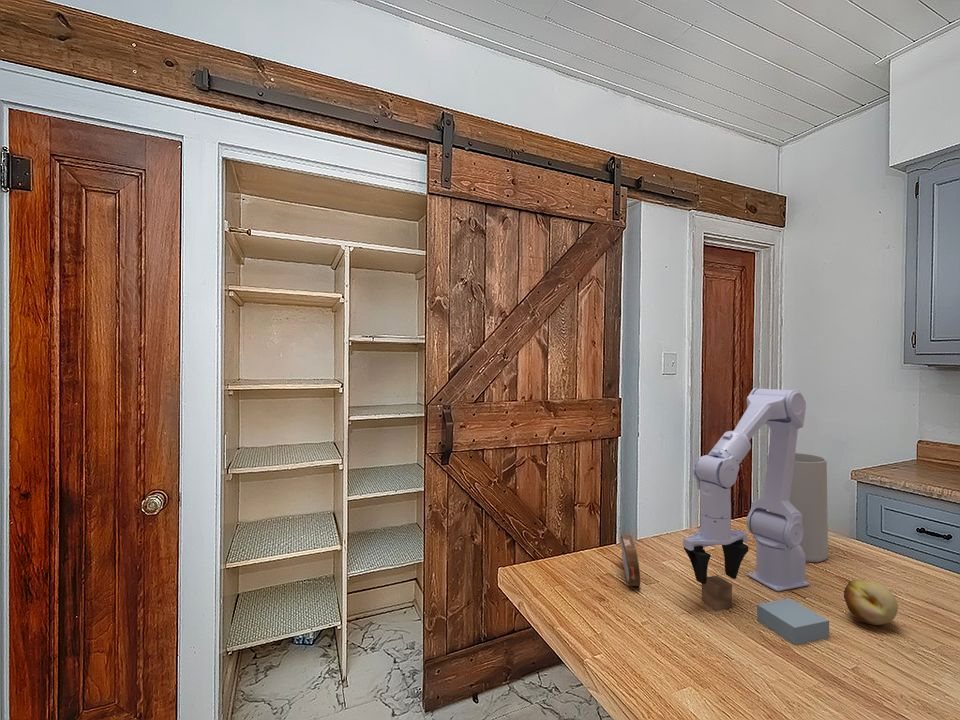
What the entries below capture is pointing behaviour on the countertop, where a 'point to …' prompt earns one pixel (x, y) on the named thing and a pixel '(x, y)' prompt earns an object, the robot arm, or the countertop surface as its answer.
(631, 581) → the tin
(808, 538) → the cylinder vase
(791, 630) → the base block
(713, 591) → the walnut block
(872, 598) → the fruit
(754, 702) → the countertop surface
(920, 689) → the countertop surface
